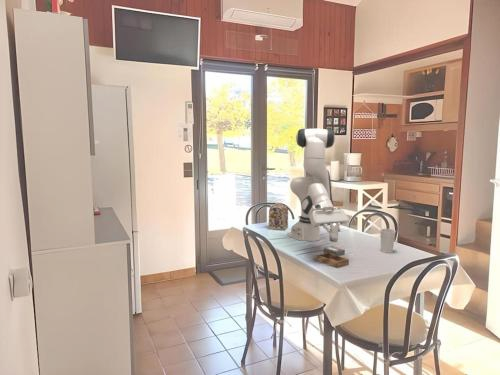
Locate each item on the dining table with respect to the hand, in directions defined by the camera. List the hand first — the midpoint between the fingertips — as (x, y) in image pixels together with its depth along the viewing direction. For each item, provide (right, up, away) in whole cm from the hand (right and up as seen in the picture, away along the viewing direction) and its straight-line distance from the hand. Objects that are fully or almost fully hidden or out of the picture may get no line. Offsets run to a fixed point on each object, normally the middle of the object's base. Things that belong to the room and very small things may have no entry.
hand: (334, 231), depth 186 cm
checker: (+4, -14, +18) cm, 23 cm away
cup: (+34, -14, +23) cm, 44 cm away
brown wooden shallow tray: (-1, -16, +3) cm, 16 cm away
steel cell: (0, -5, +1) cm, 5 cm away
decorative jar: (-22, -7, +76) cm, 79 cm away
